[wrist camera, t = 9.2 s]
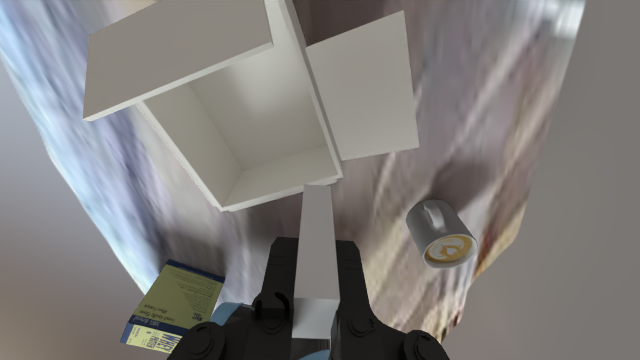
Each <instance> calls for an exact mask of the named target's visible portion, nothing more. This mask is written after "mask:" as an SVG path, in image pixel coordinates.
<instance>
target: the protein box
mask: <svg viewBox="0 0 640 360" xmlns="http://www.w3.org/2000/svg"><path fill="white" fill-rule="evenodd" d="M224 282H225V279H224V278H221V277H219V276H216V275H213V274H210V273H207V272H204V271H201V270H198V269H196V268H193V267H190V266H187V265H184V264H181V263H178V262H175V261H173V260H168V262H167V263H166V265H165V266H164V268H163V269H162V271H161V273H160V274H159V276H158V277H157V279H156V280H155V282H154V283H153V285H152V286H151V288H150V289H149V291H148V292H147V294H146V295H145V297H144V298H143V300H142V301H141V303H140V304H139V306H138V307H137V309H136V310H135V312H134V313H133V315H132V316H131V318H130V320H129V321H128V323H127V325H126V328H125V330H124V333H123V335H122V338H121V340H120V342H121V343H125V344H130V345H135V346H140V347H145V348H149V349H154V350H158V351H163V352H167V353H171V352H172V351H173V349H174V348H175V346H176V345H177V343H178V342H179V340H180V339H181V338H182V336H183V335H184V334H185V333H186V332H187V331H188V330H189V329H190V328H192V327H193V326H195V325H196V324H199V323H202V322H206V321H209V320H210V317H211V315H212V312H213V310H214V307H215V304H216V302H217V299H218V296H219V294H220V291H221V289H222V286H223V284H224Z"/></svg>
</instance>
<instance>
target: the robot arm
mask: <svg viewBox="0 0 640 360" xmlns="http://www.w3.org/2000/svg"><path fill="white" fill-rule="evenodd" d="M330 335H331V350H330ZM167 360H450V359H449V358H448V356H447V354H446V352H445V351H444V349H443V347H442V346H441V345H440V343H439V342H438V341H437V340H436V339H435V338H434V337H433V336H431V335H430V334H429V333H427V332H424V331H422V330H412V331H411V332H409V333H407V334H406V333H403V332H401V331H398V330H396V329H393V328H391V327H389V326H387V325H385V324H383V323H382V322H381V321H380V320H378V318H377V317H376V316H375V315H374V313H373V312H372V310H371V307H370V304H369V299H368V294H367V289H366V284H365V278H364V273H363V268H362V263H361V257H360V252H359V249H358V248H357V246H356V245H355V243H354V242H353V241H341V240H335V234H334V221H333V209H332V197H331V186H322V185H310V184H304V191H303V202H302V213H301V224H300V235H299V238H288V237H277V239H276V240H275V241H274V242H273V244H272V245H271V249H270V254H269V258H268V263H267V267H266V272H265V277H264V281H263V286H262V290H261V293H259V295H258V296H257V297H256V298H255V299H254V301H253V303H252V305H247V304H243V303H231V302H225V303H222V304H221V305H219V306H218V307H217V309H216V310H215V311H214V313H213V315H212V316H211V318H210V320H209V321H206V322H202V323H199V324H196V325H195V326H193V327H192V328H190V329H189V330H188V331H187V332H186V333H185V334H184V335H183V336H182V338H181V339H180V340H179V342H178V343H177V345H176V346H175V348H174V349H173V351H172V352H171V354H170V355H169V357H168V358H167Z"/></svg>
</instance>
